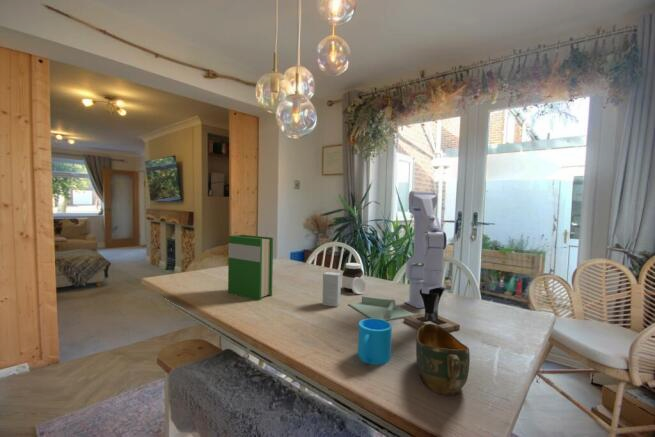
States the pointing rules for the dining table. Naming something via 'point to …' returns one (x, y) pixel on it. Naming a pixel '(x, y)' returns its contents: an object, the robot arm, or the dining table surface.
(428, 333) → the cup
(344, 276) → the spread jar
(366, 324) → the mug
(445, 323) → the brown square frame
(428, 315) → the metal axle
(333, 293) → the skincare box
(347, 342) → the dining table surface
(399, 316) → the sage V-block
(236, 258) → the hardback book
